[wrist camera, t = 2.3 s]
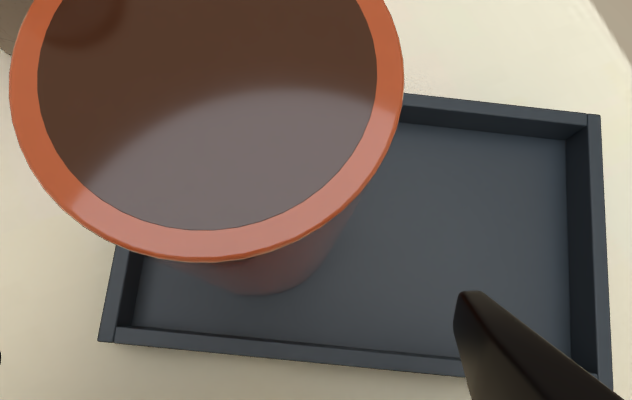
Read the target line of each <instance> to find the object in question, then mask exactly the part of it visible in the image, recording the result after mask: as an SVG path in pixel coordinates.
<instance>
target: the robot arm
mask: <svg viewBox="0 0 632 400" xmlns="http://www.w3.org/2000/svg"><path fill="white" fill-rule="evenodd" d="M453 332H454V336H455V340H456V343H457V347H458V351H459V355H460V358H461V362H462V366H463V369H464V373H465V377H466V381H467V384H468V388H469V392H470V395H471V399H472V400H624V399H623V398H621V397H620V396H619V395H617V394H616V393H615V392H613V391H612V390H611V389H609V388H608V387H607V386H605V385H604V384H603V383H602V382H600V381H599V380H598V379H596V378H595V377H594V376H592V375H591V374H590V373H588V372H587V371H586V370H584V369H583V368H582V367H581V366H579V365H578V364H577V363H575V362H574V361H573V360H571V359H570V358H569V357H567V356H566V355H565V354H564V353H562V352H561V351H560V350H558V349H557V348H556V347H554V346H553V345H552V344H550V343H549V342H548V341H546V340H545V339H544V338H543V337H541V336H540V335H539V334H537V333H536V332H535V331H533V330H532V329H531V328H529V327H528V326H527V325H526V324H524V323H523V322H522V321H520V320H519V319H518V318H516V317H515V316H514V315H512V314H511V313H510V312H508V311H507V310H506V309H505V308H503V307H502V306H501V305H499V304H498V303H497V302H495V301H494V300H493V299H491V298H490V297H489V296H487V295H486V294H485V293H483V292H482V291H478V290H475V291H462V292H460V293H459V295H458V298H457V303H456V308H455V313H454V318H453ZM0 363H1V352H0Z"/></svg>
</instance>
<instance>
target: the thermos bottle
mask: <svg viewBox="0 0 632 400" xmlns="http://www.w3.org/2000/svg"><path fill="white" fill-rule="evenodd" d="M33 1H34V0H0V48H1V49H3V50H4V51H5V52H6V53H8V54H10V55H12V53H13V48H14V45H15V42H16V39H17V35H18V32H19V29H20V26H21V24H22V22H23V20H24V18H25V16H26V14H27V11H28V9H29V7H30V5H31V4H32V2H33Z"/></svg>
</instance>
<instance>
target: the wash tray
mask: <svg viewBox="0 0 632 400" xmlns="http://www.w3.org/2000/svg"><path fill="white" fill-rule="evenodd" d="M475 290H478V291H482V292H483V293H485V294H486V295H487V296H489V297H490V298H491V299H493V300H494V301H495V302H497V303H498V304H499V305H501V306H502V307H503V308H505V309H506V310H507V311H508V312H510V313H511V314H512V315H514V316H515V317H516V318H518V319H519V320H520V321H522V322H523V323H524V324H526V325H527V326H528V327H529V328H531V329H532V330H533V331H535V332H536V333H537V334H539V335H540V336H541V337H543V338H544V339H545V340H546V341H548V342H549V343H550V344H552V345H553V346H554V347H556V348H557V349H558V350H560V351H561V352H562V353H564V354H565V355H566V356H567V357H569V358H570V359H571V360H573V361H574V362H575V363H577V364H578V365H579V366H581V367H582V368H583V369H584V370H586V371H587V372H588V373H590V374H591V375H592V376H594V377H595V378H596V379H598V380H599V381H600V382H602V383H603V384H604V385H605V386H607V387H608V388H609V389H611V390H612V391H613V372H612V350H611V329H610V308H609V287H608V265H607V244H606V223H605V202H604V180H603V159H602V138H601V117H600V115H596V114H586V113H578V112H569V111H560V110H551V109H542V108H534V107H525V106H516V105H507V104H498V103H489V102H480V101H471V100H462V99H453V98H444V97H435V96H427V95H418V94H409V93H404V94H403V105H402V110H401V114H400V119H399V123H398V127H397V130H396V133H395V136H394V138H393V141H392V143H391V146H390V148H389V151H388V153H387V155H386V156H385V158H384V160H383V162H382V163H381V165H380V167H379V169H378V170H377V172H376V174H375V176H374V177H373V179H372V181H371V183H370V184H369V186H368V188H367V189H366V191H365V193H364V194H363V196H362V198H361V200H360V201H359V203H358V205H357V206H356V208H355V210H354V212H353V213H352V215H351V217H350V218H349V220H348V222H347V224H346V225H345V227H344V229H343V230H342V232H341V234H340V236H339V237H338V239H337V241H336V242H335V244H334V246H333V247H332V249H331V251H330V253H329V254H328V256H327V258H326V259H325V261H324V262H323V264H322V265H321V266H320V267H319V269H318V270H317V271H316V272H315V273H314V274H313V275H312V276H311V277H309V278H308V279H307V280H305V281H304V282H303V283H301V284H299V285H298V286H296V287H294V288H292V289H290V290H287V291H285V292H282V293H278V294H275V295H269V296H244V295H239V294H235V293H231V292H229V291H226V290H224V289H221V288H219V287H216V286H214V285H212V284H209V283H207V282H204V281H202V280H200V279H197V278H195V277H192V276H190V275H187V274H185V273H183V272H180V271H178V270H175V269H173V268H171V267H168V266H166V265H163V264H161V263H158V262H156V261H154V260H151V259H149V258H146V257H144V256H142V255H139V254H137V253H134V252H132V251H130V250H127V249H125V248H122V247H120V246H118V245H116V248H115V253H114V258H113V263H112V268H111V273H110V278H109V283H108V288H107V293H106V298H105V303H104V308H103V313H102V318H101V323H100V328H99V334H98V339H97V340H98V341H99V342H108V343H118V344H128V345H138V346H148V347H158V348H169V349H179V350H189V351H199V352H210V353H220V354H230V355H240V356H250V357H261V358H271V359H281V360H291V361H301V362H312V363H322V364H332V365H342V366H353V367H363V368H373V369H383V370H393V371H404V372H414V373H424V374H434V375H444V376H455V377H465V373H464V369H463V366H462V362H461V358H460V355H459V351H458V347H457V343H456V340H455V336H454V332H453V318H454V313H455V308H456V303H457V298H458V295H459V293H460V292H462V291H475ZM465 378H466V377H465Z"/></svg>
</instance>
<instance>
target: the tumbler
mask: <svg viewBox="0 0 632 400" xmlns="http://www.w3.org/2000/svg"><path fill="white" fill-rule="evenodd" d="M403 94H404V64H403V56H402V51H401V46H400V41H399V37H398V34H397V31H396V28H395V25H394V22H393V20H392V17H391V14H390V12H389V10H388V9H387V7H386V5H385V3H384V1H383V0H34V1H33V2H32V4H31V5H30V7H29V9H28V11H27V14H26V16H25V18H24V20H23V22H22V24H21V26H20V29H19V32H18V35H17V39H16V42H15V45H14V48H13V53H12V59H11V65H10V72H9V102H10V109H11V116H12V122H13V126H14V129H15V132H16V136H17V139H18V142H19V146H20V148H21V150H22V153H23V155H24V157H25V159H26V161H27V163H28V165H29V167H30V169H31V171H32V172H33V174H34V175H35V177H36V178H37V180H38V181H39V183H40V184H41V186H42V187H43V189H44V190H45V191H46V193H47V194H48V195H49V196H50V197H51V198H52V199H53V200H54V201H55V202H56V203H57V204H58V206H59V207H60V208H61V209H62V210H63V211H64V212H66V213H67V214H68V215H69V216H71V217H72V218H73V219H74V220H76V221H77V222H78V223H79V224H80V225H82V226H83V227H84V228H86V229H88V230H89V231H91V232H93V233H94V234H96V235H98V236H99V237H101V238H103V239H104V240H106V241H108V242H111V243H113V244H115V245H118V246H120V247H122V248H125V249H127V250H130V251H132V252H134V253H137V254H139V255H142V256H144V257H146V258H149V259H151V260H154V261H156V262H158V263H161V264H163V265H166V266H168V267H171V268H173V269H175V270H178V271H180V272H183V273H185V274H187V275H190V276H192V277H195V278H197V279H200V280H202V281H204V282H207V283H209V284H212V285H214V286H216V287H219V288H221V289H224V290H226V291H229V292H231V293H235V294H239V295H244V296H269V295H275V294H278V293H282V292H285V291H287V290H290V289H292V288H294V287H296V286H298V285H299V284H301V283H303V282H304V281H305V280H307V279H308V278H309V277H311V276H312V275H313V274H314V273H315V272H316V271H317V270H318V269H319V267H320V266H321V265H322V264H323V262H324V261H325V259H326V258H327V256H328V254H329V253H330V251H331V249H332V247H333V246H334V244H335V242H336V241H337V239H338V237H339V236H340V234H341V232H342V230H343V229H344V227H345V225H346V224H347V222H348V220H349V218H350V217H351V215H352V213H353V212H354V210H355V208H356V206H357V205H358V203H359V201H360V200H361V198H362V196H363V194H364V193H365V191H366V189H367V188H368V186H369V184H370V183H371V181H372V179H373V177H374V176H375V174H376V172H377V170H378V169H379V167H380V165H381V163H382V162H383V160H384V158H385V156H386V155H387V153H388V151H389V148H390V146H391V143H392V141H393V138H394V136H395V133H396V130H397V127H398V123H399V119H400V114H401V110H402V105H403Z"/></svg>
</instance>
